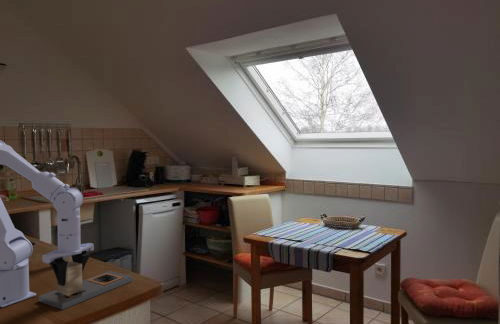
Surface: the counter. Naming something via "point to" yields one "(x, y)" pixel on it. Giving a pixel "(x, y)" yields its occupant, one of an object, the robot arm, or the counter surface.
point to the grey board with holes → (86, 290)
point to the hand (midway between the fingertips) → (69, 281)
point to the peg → (72, 279)
